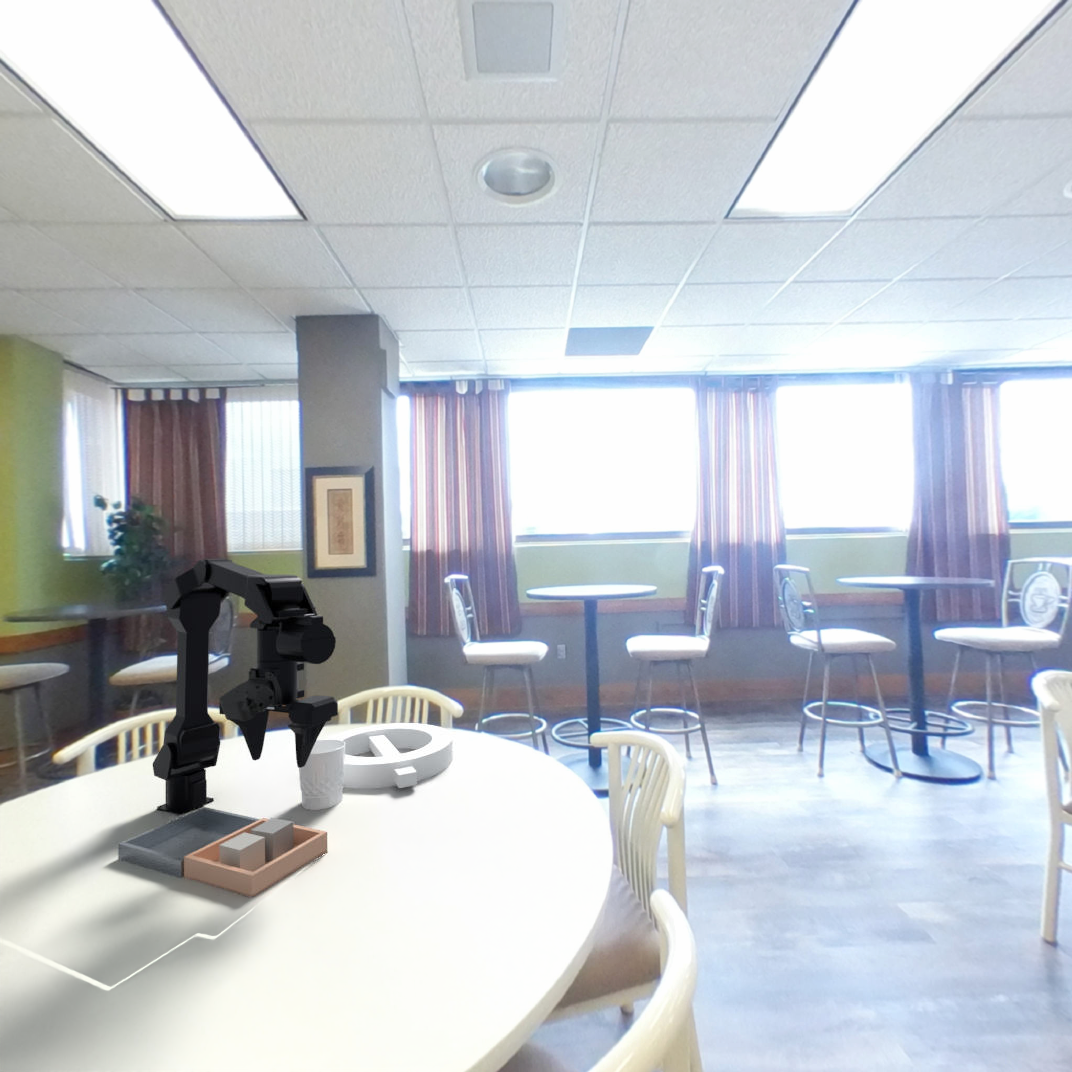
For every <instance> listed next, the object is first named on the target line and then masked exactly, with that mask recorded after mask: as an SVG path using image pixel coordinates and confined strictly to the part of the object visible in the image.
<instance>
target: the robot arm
mask: <svg viewBox="0 0 1072 1072" xmlns="http://www.w3.org/2000/svg"><path fill="white" fill-rule="evenodd" d="M229 594H234V595H236V596H238V597H241V598H242V599H244V607H247V608H248V610H250V611H251V612H252V613H254V614H255V615H256V617H255V618H254V619H253V620H252V621H251V622H250V623H249V628H251V629H256V666H254V667H250V668H249V671H248V679H247V680H246V681H244V682H242V683H240V684H238V685H237V686H235V687H233V688H232V689H230V690H229V691H228V692H226V693H224V694H223V695H221V696H220V697H219V707H218V708H219V715H224V717H225V719H226V720H227V721H231V722H232V723H233V724H236V726H238V727H239V730H240V731H241V733H242V735H243V738H244V741H245V743H246V747H247V749H248V751H249V753H250V756H251V759H252V760H253V761H258V760H260V759H261V756H262V753H263V749H264V743H265V739H266V738H265V737H266V731H267V726H268V721H269V714H270V712H276V713H286V714H288V718H289V720H290V721H291V723H290V724H287V727H288V728H289V729H290V730H291V731H292V732H293V733H294V742H295V757H296V758H295V760H296V765H297V768H298V769H299V768H301V767H303V766H305V764H306V762H307V760H308V758H309V755H310V753H311V751H312V749H313V746H314V744H315V742H316V741H318V737H319V736H320V733H321V732H322V730H323V729H324V727H325V724H326V723H328V722H330V721H332V718H333V717H336V716H339V705H338V703H339V701H338V699H336V698H335V697H334V696H329V695H318V694H314V695H312V696H309V697H305V690H304V689H300V688H299V671H304V670H305V664H311V665H321V664H323V663H325V662H326V661H328V660H329V659H330V657H332V656H333V653H334V651H335V648H336V642H337V641H336V636H335V634H334V632H333V630H332V629H331V627H329V626H328V625H327V624H325V623H324V616H323V615H318V613H317V611H316V606H315V604H314V603H313V601H312V600H311V597H310V595H309V593H308V591H307V589H306V587H305V584H304V583H303V580H302V579H301V578H300V577H299V576H298V575H295V574H294V575H293V574H268V573H267V574H265V573H262V572H260V571H257V570H254V569H252V568H248V567H246V566H244V565H241V564H238V563H235V562H233V561H232V559H231V560H230V559H227V558H203V559H201V560H198V561H197V562H196V564H194V567H192V568H190V569H188V570H187V571H185V572H184V573H182V574H180V575H178V576H176V577H175V578H174V579H173V580H172V582H171V583H170V584H169V586H168V587H167V589H166V590H165V592H164V596H163V599H164V605H165V607H166V617H167V619H168V621H170V623H171V624H172V626H173V627H174V629H175V630H176V632H177V640H176V641H177V642H176V644H177V647H176V648H177V649H176V690H175V691H176V693H175V695H176V699H175V715H174V717H173V719H171V722H169V725H168V726H167V728H166V729H165V731H164V736H163V745H162V746H161V748H160V750H159V751H158V753H157V755H156V756H155V759H154V760H153V762H152V770H153V775H154V777H156V778H159V779H161V780H164V781H165V803H163V804H161V805H159V806H157V807H156V810H157V811H161V812H165V813H169V814H173V815H178V816H181V815H186V814H188V813H190V812H193V811H195V810H198V809H200V808H201V807H205V806H206V805H208V804H210V803H213V802H215V801H214V800H215V799H214V798H213V797H209V796H207V794H208V793H207V790H208V789H207V786H208V784H207V775H206V774H207V773H206V772H207V768H212V767H216V766H217V762H218V759H219V757H218V756H219V752H220V747H221V739H220V731H221V726H220V724H219V723H218V722H215V721H214V720H213V718H212V717H211V715H210V714H209V711H208V709H209V705H208V704H209V669H210V667H209V664H210V663H209V662H210V661H209V659H210V658H209V656H210V631H211V630H212V628H213V626H214V625H215V624H216V621H217V620H218V619H219V617H220V615H221V607H222V604H223V602H224V601H225V599H226V598H227V597H228V596H229ZM304 697H305V698H304ZM301 698H302V699H301ZM298 699H299V700H298Z"/></svg>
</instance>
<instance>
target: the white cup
mask: <svg viewBox="0 0 1072 1072" xmlns="http://www.w3.org/2000/svg"><path fill="white" fill-rule="evenodd" d="M298 769H299V770H298V772H299V774H298V775H299V782H300V783H299V785H300V786H299V787H300V791H301V792H300V793H301V806H302V807H303V808H304V809H307V810H311V811H313V810H314V811H315V810H324V809H328V808H332V807H333V808H334V807H335V806H338V805H339V804H341V802H343V799H344V798H343V794H344V787H343V785H344V769H345V742H343V741H341V740H325V739H321V740H316V742H315V744H314V746H313V749H312V751H311V753H310V755H309V758H308V760H307V762H306V764H305V766H303V767H301V768H298Z"/></svg>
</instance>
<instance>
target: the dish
mask: <svg viewBox="0 0 1072 1072" xmlns="http://www.w3.org/2000/svg"><path fill="white" fill-rule="evenodd" d="M259 819H260V820H258V821H256V822H254V823H252V824H250V825H248V826H246V827H244V828H242V829H239V830H237V831H235V832H233V833H231V834H229V835H227V836H225V837H223V838H221V839H219V840H217V841H215V842H213V843H211V844H209V845H207V846H205V847H203V848H201V849H199V850H197V851H195V852H193V853H191V854H189V855H187V856H184V877H183V878H185V879H188V880H191V881H194V882H199V883H201V884H205V885H208V886H211V887H215V888H218V889H222V890H224V891H227V892H231V893H234V894H237V895H242V896H245V897H249V898H252V899H253V898H255V897H256V896H258V895H260V894H261V893H263V892H265V891H266V890H267V889H269V888H271V887H272V886H274V885H275V884H277V883H279V882H280V881H282V880H284V879H285V878H286V877H287V878H288V876H290V875H292V874H293V873H295V872H296V871H297V870H299V869H301V868H302V867H304V866H307V865H308V864H310V863H311V862H312V861H313V862H315V861H314V860H315V859H316V858H318V859H320V858H321V857H323V856H324V855H323V854H325V853H326V854H328V831H325V830H322V829H321V830H320V829H317V828H316V829H315V828H312V827H307V826H304V825H303V826H301V825H298V824H294V823H293V842H294V848H293V849H292V850H290V851H288V852H287V853H285V854H283V855H281V856H280V857H278V858H276V859H275V860H273V861H271V862H267V861H265V865H264V866H262V867H261V868H259V869H257V870H256V871H254V872H251V871H248V870H244V869H240V868H237V867H233V866H229V865H226V864H222V863H219V845H220V844H222V843H224V842H226V841H228V840H230V839H232V838H234V837H236V836H238V835H240V834H242V833H244V832H245V833H249V834H251V830H252V829H253V828H255V827H257V826H259V825H260V824H262V823H264V822H266V821H268V820H269V819H270V818H265V817H262V818H259ZM326 854H325V855H326ZM322 855H323V856H322ZM320 856H321V857H320ZM319 857H320V858H319Z"/></svg>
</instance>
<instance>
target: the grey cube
mask: <svg viewBox="0 0 1072 1072" xmlns="http://www.w3.org/2000/svg"><path fill="white" fill-rule="evenodd" d="M268 819H269V820H268V821H266V822H264V823H262V824H260V825H259V826H257V827H255V828H253V829H252V830H251V834H254V835H258V836H262V837H265V861H267V862H271V861H273V860H275V859H276V858H278V857H280V856H281V855H283V854H285V853H287V852H288V851H290V850H292V849H293V848H294V842H293V824H294V821H291V820H285V819H280V818H274V817H273V818H272V817H271V818H268Z"/></svg>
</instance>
